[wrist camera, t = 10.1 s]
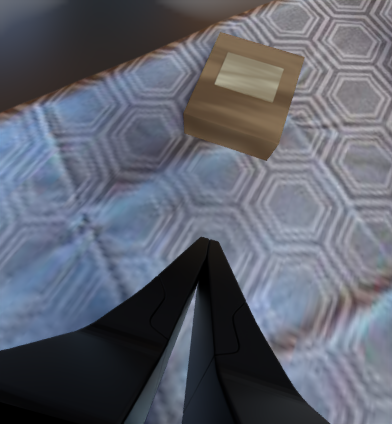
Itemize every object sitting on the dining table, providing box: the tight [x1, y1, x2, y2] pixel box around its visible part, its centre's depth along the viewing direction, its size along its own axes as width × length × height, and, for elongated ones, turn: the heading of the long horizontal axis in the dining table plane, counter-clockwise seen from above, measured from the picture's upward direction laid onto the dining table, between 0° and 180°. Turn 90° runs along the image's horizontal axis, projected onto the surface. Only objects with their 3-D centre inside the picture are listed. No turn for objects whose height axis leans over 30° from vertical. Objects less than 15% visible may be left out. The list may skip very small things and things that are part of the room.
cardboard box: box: [183, 32, 305, 161], centre depth 26 cm, size 4×11×13 cm
